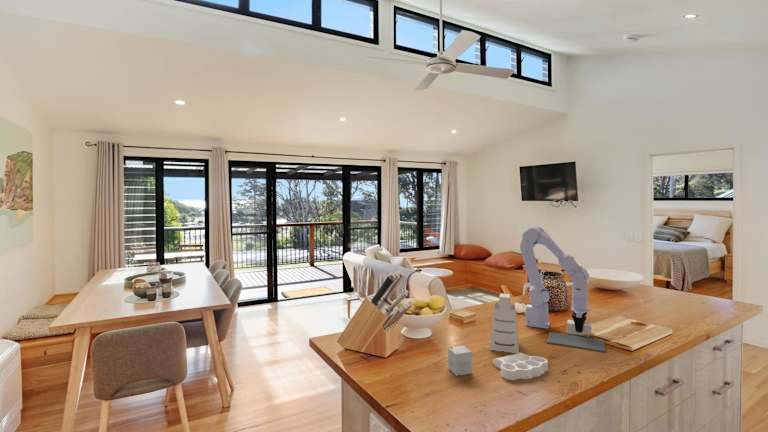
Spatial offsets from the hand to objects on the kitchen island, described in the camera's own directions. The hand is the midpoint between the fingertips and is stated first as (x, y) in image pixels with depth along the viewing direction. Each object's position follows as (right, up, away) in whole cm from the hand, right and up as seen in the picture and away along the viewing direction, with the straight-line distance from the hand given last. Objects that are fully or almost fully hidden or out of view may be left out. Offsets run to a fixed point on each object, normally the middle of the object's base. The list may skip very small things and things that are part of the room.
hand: (579, 329), depth 162 cm
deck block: (0, -2, 0) cm, 2 cm away
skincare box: (-57, -4, -34) cm, 66 cm away
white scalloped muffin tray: (-37, -4, -33) cm, 50 cm away
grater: (-36, -3, -13) cm, 38 cm away
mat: (-7, -2, -10) cm, 12 cm away
